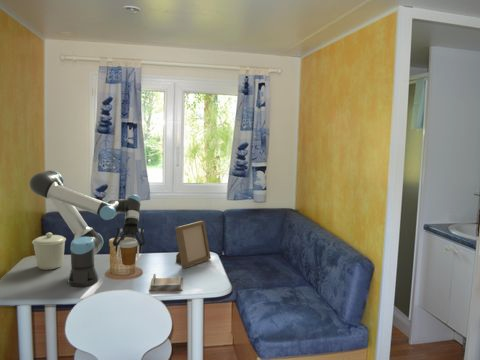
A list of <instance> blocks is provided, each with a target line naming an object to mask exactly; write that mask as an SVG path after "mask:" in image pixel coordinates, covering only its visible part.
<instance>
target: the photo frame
mask: <svg viewBox="0 0 480 360" xmlns="http://www.w3.org/2000/svg"><path fill="white" fill-rule="evenodd" d="M174 230H175V236H176V242H177V247H178V252H177V254H176V256H175V262H180V265H181V268H182V269H186V268H191V267H192V266H196V265H198V264H201V263H203V262H205V261H208V260H211V252H210V245H209V241H208V240H209V239H208V235H207V229H206V221H205V220H200V221H199V220H198V221H196V222H195V221H194V222H192V223H188V224H184V225H180V226H175V227H174Z"/></svg>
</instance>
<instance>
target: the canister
mask: <svg viewBox="0 0 480 360" xmlns="http://www.w3.org/2000/svg"><path fill="white" fill-rule="evenodd" d="M66 240H67V238H66V237H64V236H63V235H61V234H60V235H59V234H53V233H52V232H49V231H48V232H47V233H45V235H42V236H39V237H36V238H35V239H34V240H32V242H31V243H32V245H33V249H34V255H35V261H36V265H37V267H38V268H39V269H41V270H43V271H44V270H45V271H48V270H56V269H58V268H60V267H61V266H62V265H63V263H64V258H65V257H64V255H65V246H66V245H65V244H66Z"/></svg>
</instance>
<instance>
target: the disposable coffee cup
mask: <svg viewBox="0 0 480 360" xmlns="http://www.w3.org/2000/svg"><path fill="white" fill-rule="evenodd" d="M119 245H120V255H121V263H122V265H123V266H133V265H134V264H135V263H136V258H137V247H138V245H139V244H138V242H137V240H136V239H134V238H133V239H131V238H129V239H128V238H126V239H124V240H122V241H120V244H119Z"/></svg>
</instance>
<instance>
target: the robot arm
mask: <svg viewBox="0 0 480 360" xmlns="http://www.w3.org/2000/svg"><path fill="white" fill-rule="evenodd" d="M28 186H29V189H30V191H32V193H34V194H35V195H37V196H40V197H42V198H45V199H47V200H49V201H51V202H52V204H53V205H54V207H55V208H56V210H57V212H58V213H59V214H60V216H61V217H62V219H63V220H64V222H65V223H66V224H67V226H68V228H69V229H70V230H71V232H72V233H73V235H74V238H73V239H72V241H71V242H70V249H69V250H70V266H71V270H70V273H69V275H68V277H67V278H68V279H67V280H68V282H67V283H68V285H69V286H70V287H71V286H72V287H76V288H77V287H80V288H81V287H87V286H88V287H89V286H92V285H94V284H96V283H98V281H99V276H98V271H97V270H96V266H95V255H97V254H98V253H99V252H100V251H101V250H102V248H103V245H104V238H103V236H102V235H101V234H100V233H99V232H96V231H95V229H94V228H93V227H90V226H88V224H87V222H86V221H85V220H84V218H83V216H82V215H81V213H80V212H79V210H78V209H80V210H84V211H86V212H89V213H92V214H94V215H97V216H100V218H101V219H103V220H104V221H105V220H106V221H109V220H112V219H115V217H116V216H117V215H118V214H124V215H125V216H124V223H123V227H122V228H119V227H118V228H117V231H116V234H115V237H114V238H113V241H112V245H113V247H115V253H116V259H117V260H119V259H120V254H121V250H120V245H119V244H120V241H122V240H125V238H126V239H127V237H134V238H135V240H137V243H138V244H137V249H136V259H140V258H139V257H140V253H141V252H142V248H143V246H144V247H145V246H146V241H145V236H144V230H145V229H144V228H143V227H141V228H139V223H140V222H139V220H140V209H141V198H140V196H139V195H137V194H130V195H128V196H127V198H126V199H110V200H106V201H103V200H101V199H98V198H94V197H92V196H89V195H86V194H84V193H82V192H78V191H77V190H76V191H75V190H73V189H70V188H68V187H66V186H65V184H64V178H63V176H62V174H60V172H58V171H56V170H45V171H42V172H37V173H35V174H34V175H32V176H31V178H30V179H29V182H28ZM77 208H78V209H77ZM137 233H140V236H141V240H140V238H139V236H138V234H137ZM121 234H122V235H121Z"/></svg>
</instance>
